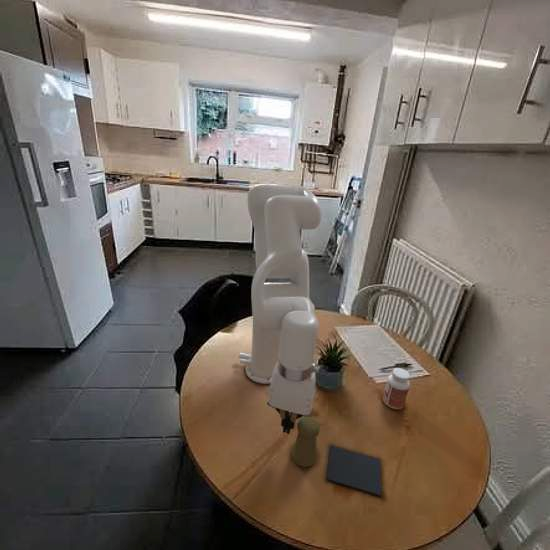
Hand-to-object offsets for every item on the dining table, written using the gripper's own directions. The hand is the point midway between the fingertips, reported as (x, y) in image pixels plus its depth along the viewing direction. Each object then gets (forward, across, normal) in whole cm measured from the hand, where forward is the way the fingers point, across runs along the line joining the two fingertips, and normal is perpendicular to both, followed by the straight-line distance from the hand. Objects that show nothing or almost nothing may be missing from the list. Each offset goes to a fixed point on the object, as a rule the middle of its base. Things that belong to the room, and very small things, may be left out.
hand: (287, 428), depth 74 cm
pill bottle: (+7, -28, -26) cm, 39 cm away
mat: (+7, -17, 0) cm, 18 cm away
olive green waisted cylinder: (+7, -5, 0) cm, 9 cm away
